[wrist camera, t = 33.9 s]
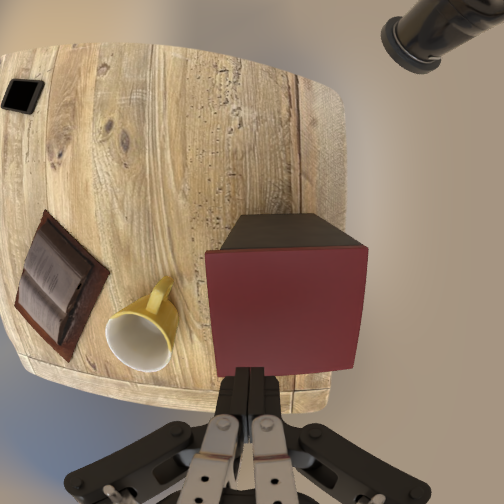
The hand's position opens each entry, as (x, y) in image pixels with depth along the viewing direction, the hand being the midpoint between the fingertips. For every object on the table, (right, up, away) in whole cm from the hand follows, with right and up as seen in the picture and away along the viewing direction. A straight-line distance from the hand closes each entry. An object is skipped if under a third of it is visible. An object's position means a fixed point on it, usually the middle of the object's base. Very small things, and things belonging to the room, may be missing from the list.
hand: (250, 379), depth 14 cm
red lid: (+3, +2, +7) cm, 8 cm away
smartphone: (-49, +40, +21) cm, 66 cm away
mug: (-14, -2, +30) cm, 34 cm away
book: (-40, -1, +31) cm, 51 cm away
